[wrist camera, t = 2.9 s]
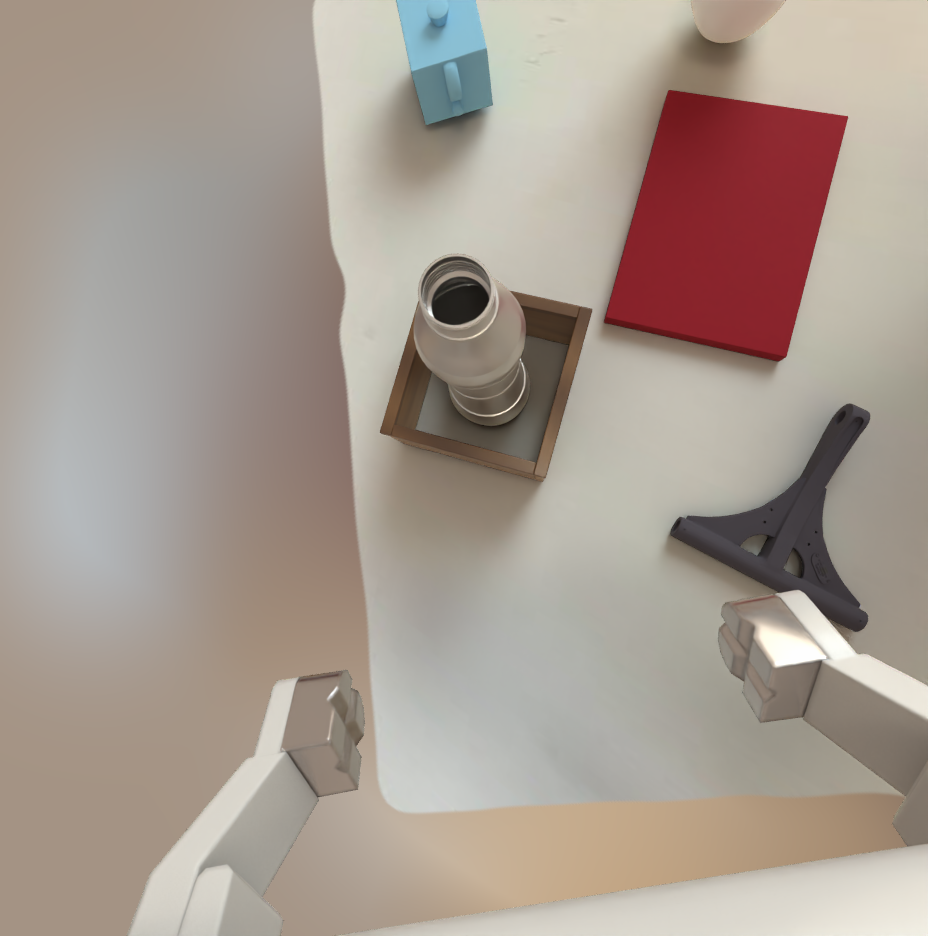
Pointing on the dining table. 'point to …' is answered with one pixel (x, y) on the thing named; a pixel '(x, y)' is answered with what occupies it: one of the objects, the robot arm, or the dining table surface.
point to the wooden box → (401, 422)
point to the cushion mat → (726, 223)
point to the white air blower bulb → (732, 17)
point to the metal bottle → (473, 338)
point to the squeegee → (790, 529)
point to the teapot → (446, 56)
